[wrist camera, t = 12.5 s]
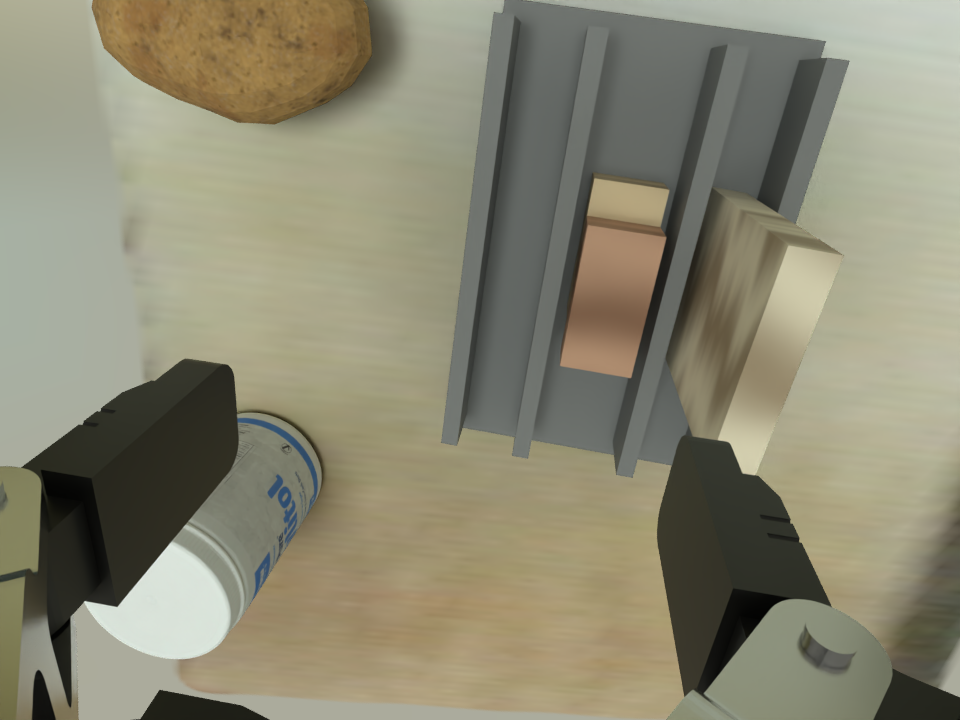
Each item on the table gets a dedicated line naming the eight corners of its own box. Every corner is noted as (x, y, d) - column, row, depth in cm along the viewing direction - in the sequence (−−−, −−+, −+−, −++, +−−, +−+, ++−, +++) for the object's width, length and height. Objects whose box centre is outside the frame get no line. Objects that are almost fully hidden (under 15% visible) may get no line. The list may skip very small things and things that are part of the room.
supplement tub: (340, 508, 50) (257, 662, 37) (231, 518, 52) (115, 669, 39) (303, 398, 47) (196, 525, 34) (188, 413, 49) (43, 539, 35)
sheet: (710, 186, 36) (788, 245, 23) (746, 192, 36) (844, 255, 23) (661, 348, 40) (705, 472, 27) (693, 354, 40) (752, 482, 27)
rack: (507, 1, 35) (496, -12, 30) (815, 42, 34) (857, 36, 29) (454, 415, 46) (439, 456, 41) (687, 457, 45) (701, 504, 40)
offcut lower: (592, 172, 37) (594, 178, 34) (663, 182, 36) (669, 189, 34) (567, 304, 40) (566, 317, 38) (631, 314, 40) (635, 329, 37)
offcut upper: (587, 215, 35) (587, 225, 33) (660, 227, 35) (666, 237, 33) (560, 349, 38) (559, 365, 36) (627, 360, 38) (630, 378, 36)
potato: (391, 135, 39) (349, 148, 31) (169, 103, 40) (78, 108, 32) (403, -55, 35) (358, -90, 27) (155, -85, 36) (48, -127, 28)
